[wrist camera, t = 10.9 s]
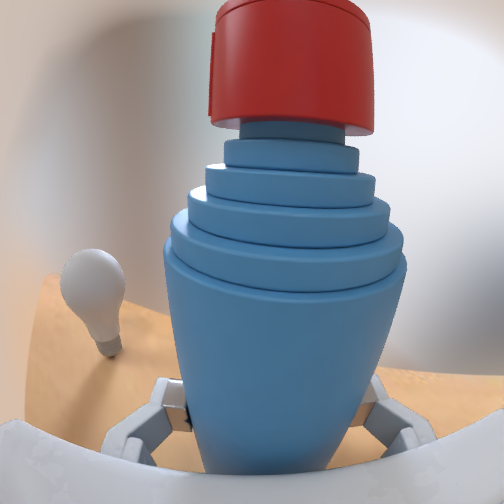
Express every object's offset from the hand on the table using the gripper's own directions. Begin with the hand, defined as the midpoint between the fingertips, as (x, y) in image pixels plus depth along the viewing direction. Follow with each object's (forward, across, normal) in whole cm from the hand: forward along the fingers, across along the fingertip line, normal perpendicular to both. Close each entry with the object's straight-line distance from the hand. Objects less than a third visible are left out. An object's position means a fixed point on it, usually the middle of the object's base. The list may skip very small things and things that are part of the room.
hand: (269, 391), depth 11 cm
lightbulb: (+11, +14, +9) cm, 20 cm away
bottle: (-1, 0, +9) cm, 9 cm away
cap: (-1, 0, -10) cm, 10 cm away
